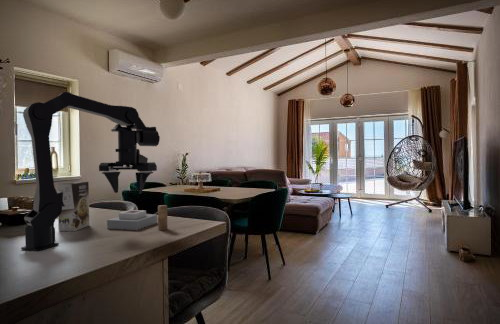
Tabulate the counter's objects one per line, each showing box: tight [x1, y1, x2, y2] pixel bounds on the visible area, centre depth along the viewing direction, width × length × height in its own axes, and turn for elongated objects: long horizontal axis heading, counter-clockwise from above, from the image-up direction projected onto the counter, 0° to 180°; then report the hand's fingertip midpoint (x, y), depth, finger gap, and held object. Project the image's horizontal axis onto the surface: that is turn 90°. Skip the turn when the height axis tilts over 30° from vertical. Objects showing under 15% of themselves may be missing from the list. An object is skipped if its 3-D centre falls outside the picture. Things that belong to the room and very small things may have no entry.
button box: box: [106, 209, 158, 231], centre depth 117 cm, size 12×12×5 cm
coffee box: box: [57, 181, 91, 232], centre depth 114 cm, size 9×6×16 cm
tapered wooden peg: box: [157, 204, 169, 231], centre depth 110 cm, size 3×3×8 cm
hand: (128, 193), depth 108 cm, fingers open, 9 cm apart
